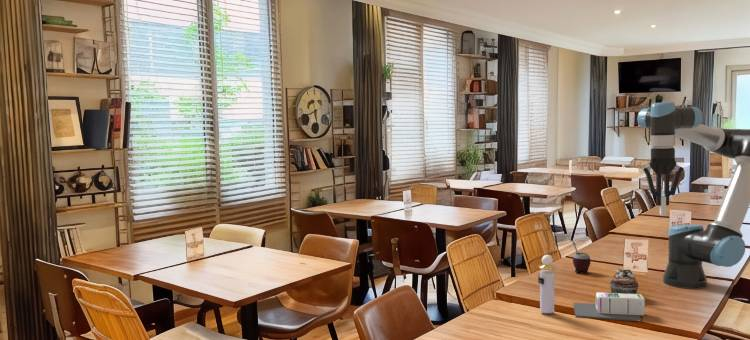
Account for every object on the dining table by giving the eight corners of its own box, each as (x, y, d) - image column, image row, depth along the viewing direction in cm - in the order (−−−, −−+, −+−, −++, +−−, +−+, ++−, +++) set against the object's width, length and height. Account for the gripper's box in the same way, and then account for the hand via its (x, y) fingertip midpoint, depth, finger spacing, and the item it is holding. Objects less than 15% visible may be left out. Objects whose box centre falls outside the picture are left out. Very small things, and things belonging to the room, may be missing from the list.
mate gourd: (593, 273, 250) (594, 237, 248) (581, 276, 245) (582, 240, 244) (578, 269, 256) (579, 235, 254) (567, 272, 251) (567, 237, 250)
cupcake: (605, 293, 220) (605, 267, 219) (632, 293, 220) (632, 267, 219) (615, 301, 211) (615, 274, 210) (642, 301, 210) (643, 273, 210)
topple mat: (634, 308, 203) (634, 306, 203) (641, 321, 190) (641, 319, 190) (573, 304, 209) (573, 302, 209) (575, 317, 195) (575, 315, 195)
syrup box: (645, 298, 193) (597, 295, 196) (644, 316, 193) (597, 313, 196) (641, 293, 198) (595, 291, 202) (640, 311, 199) (595, 308, 202)
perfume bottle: (552, 310, 203) (552, 252, 201) (558, 315, 197) (559, 256, 195) (535, 310, 202) (535, 253, 201) (541, 316, 196) (542, 257, 195)
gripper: (680, 145, 206) (680, 212, 209) (640, 147, 210) (640, 212, 212) (686, 147, 199) (686, 216, 202) (644, 148, 203) (644, 216, 205)
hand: (662, 214), depth 207 cm, fingers closed
